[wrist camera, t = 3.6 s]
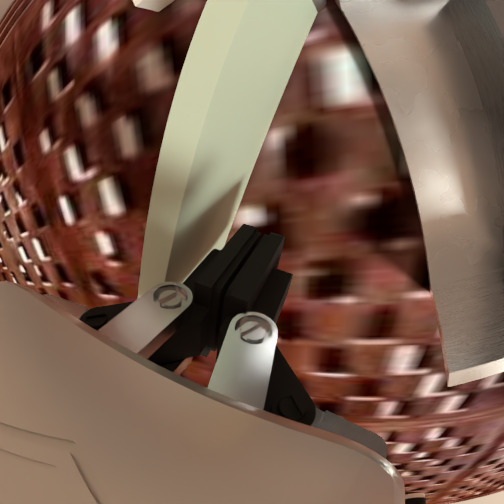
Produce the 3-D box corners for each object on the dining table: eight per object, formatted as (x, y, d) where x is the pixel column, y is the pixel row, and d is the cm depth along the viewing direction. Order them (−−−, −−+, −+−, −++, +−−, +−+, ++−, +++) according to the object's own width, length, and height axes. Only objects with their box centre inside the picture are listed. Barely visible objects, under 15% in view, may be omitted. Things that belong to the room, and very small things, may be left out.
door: (330, -6, 8) (301, -93, 2) (221, 262, 17) (155, 349, 12) (300, -16, 8) (245, -98, 3) (201, 252, 18) (129, 333, 12)
